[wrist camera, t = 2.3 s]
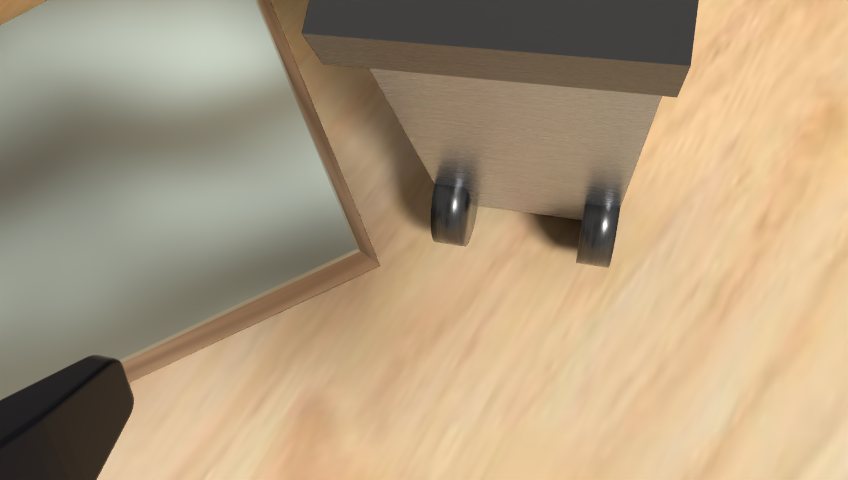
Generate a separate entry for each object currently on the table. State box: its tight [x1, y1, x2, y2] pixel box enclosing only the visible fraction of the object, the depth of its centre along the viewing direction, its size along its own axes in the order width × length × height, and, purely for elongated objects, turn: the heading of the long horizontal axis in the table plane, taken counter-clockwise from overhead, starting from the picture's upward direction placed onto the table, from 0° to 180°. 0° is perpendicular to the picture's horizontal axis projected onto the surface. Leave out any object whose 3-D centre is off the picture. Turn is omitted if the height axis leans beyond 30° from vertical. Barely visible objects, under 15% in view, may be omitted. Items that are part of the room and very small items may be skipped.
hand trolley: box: [302, 0, 699, 268], centre depth 17 cm, size 8×6×14 cm
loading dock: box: [0, 0, 380, 400], centre depth 25 cm, size 14×13×3 cm
